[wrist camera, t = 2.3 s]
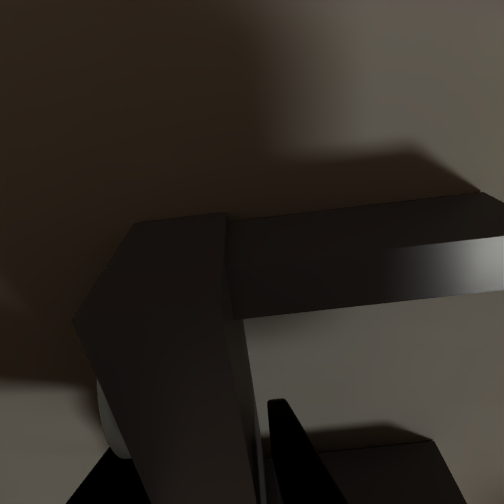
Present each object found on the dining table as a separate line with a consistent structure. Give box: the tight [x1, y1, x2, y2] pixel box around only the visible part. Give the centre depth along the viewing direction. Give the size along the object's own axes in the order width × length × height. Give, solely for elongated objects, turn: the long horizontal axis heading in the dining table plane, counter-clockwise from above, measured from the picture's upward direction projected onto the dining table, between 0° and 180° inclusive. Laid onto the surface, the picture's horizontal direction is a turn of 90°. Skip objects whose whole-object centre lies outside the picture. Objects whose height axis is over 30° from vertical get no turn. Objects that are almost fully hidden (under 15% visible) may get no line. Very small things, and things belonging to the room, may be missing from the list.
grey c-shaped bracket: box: [72, 192, 504, 504], centre depth 8 cm, size 9×7×3 cm
